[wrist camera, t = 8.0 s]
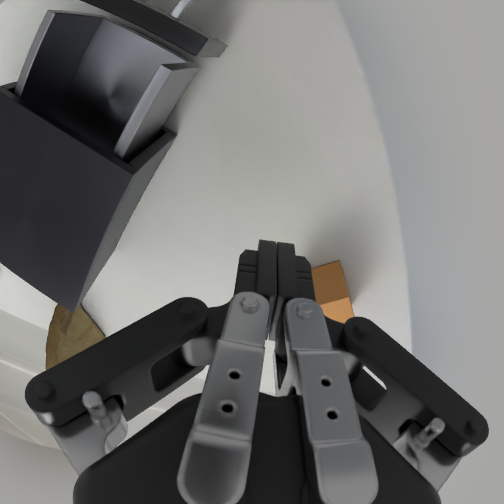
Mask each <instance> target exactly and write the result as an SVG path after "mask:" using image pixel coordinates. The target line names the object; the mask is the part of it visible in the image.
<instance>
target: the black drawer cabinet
mask: <svg viewBox="0 0 504 504" xmlns="http://www.w3.org/2000/svg"><path fill="white" fill-rule="evenodd" d="M17 82H18V81H17ZM17 82H13V83H9V84H6V85H2V86H0V263H1V264H3V265H4V266H5V267H7V268H8V269H9V270H11V271H12V272H13V273H15V274H16V275H18V276H19V277H20V278H22V279H23V280H24V281H26V282H27V283H29V284H30V285H31V286H33V287H34V288H36V289H37V290H39V291H40V292H42V293H43V294H45V295H46V296H48V297H49V298H51V299H52V300H54V301H55V302H57V303H58V304H60V305H61V306H63V307H64V308H66V309H68V310H69V311H71V312H72V313H75V311H76V310H77V308H78V306H79V305H80V303H81V301H82V300H83V298H84V297H85V295H86V293H87V292H88V290H89V289H90V287H91V285H92V284H93V282H94V281H95V279H96V277H97V276H98V274H99V273H100V271H101V270H102V268H103V267H104V265H105V264H106V262H107V261H108V259H109V258H110V256H111V255H112V253H113V252H114V250H115V248H116V246H117V244H118V242H119V239H120V237H121V235H122V233H123V231H124V229H125V227H126V225H127V223H128V221H129V220H130V218H131V216H132V214H133V212H134V210H135V208H136V206H137V204H138V202H139V200H140V199H141V197H142V195H143V193H144V191H145V189H146V188H147V186H148V184H149V182H150V180H151V179H152V177H153V175H154V173H155V172H156V170H157V168H158V166H159V165H160V163H161V161H162V160H163V158H164V156H165V155H166V153H167V151H168V150H169V148H170V146H171V145H172V143H173V141H174V140H175V138H176V136H177V134H176V133H174V132H172V131H171V130H169V129H167V128H166V127H164V126H162V128H161V130H160V131H159V133H158V135H157V136H156V138H155V140H154V142H153V143H152V144H151V145H150V146H149V147H148V148H146V149H145V150H144V151H143V152H141V153H140V154H139V155H138V156H137V157H135V158H134V159H133V160H132V161H131V162H129V163H128V164H127V163H125V162H124V161H122V160H120V159H119V158H117V157H116V156H114V155H112V154H111V153H109V152H108V151H106V150H104V149H103V148H101V147H99V146H98V145H96V144H95V143H93V142H91V141H90V140H88V139H86V138H85V137H83V136H82V135H80V134H78V133H77V132H75V131H74V130H72V129H70V128H69V127H67V126H65V125H64V124H62V123H60V122H59V121H57V120H56V119H54V118H52V117H51V116H49V115H47V114H46V113H44V112H42V111H41V110H39V109H38V108H36V107H34V106H33V105H31V104H29V103H28V102H26V101H24V100H23V99H21V98H19V97H18V96H16V95H15V94H14V91H15V88H16V85H17Z"/></svg>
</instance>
